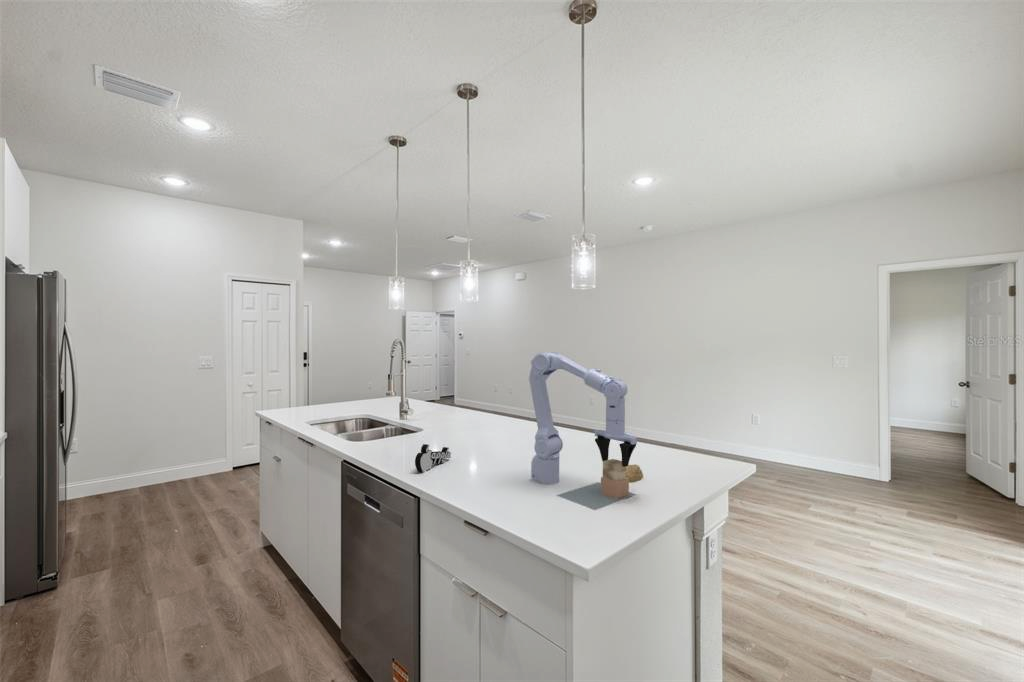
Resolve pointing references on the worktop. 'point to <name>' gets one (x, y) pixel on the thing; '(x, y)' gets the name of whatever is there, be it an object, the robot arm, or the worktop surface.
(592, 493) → the slate mat
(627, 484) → the terracotta brick
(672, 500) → the worktop surface
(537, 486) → the worktop surface
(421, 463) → the logo
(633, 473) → the stone tool
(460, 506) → the worktop surface
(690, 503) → the worktop surface
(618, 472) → the maple block
